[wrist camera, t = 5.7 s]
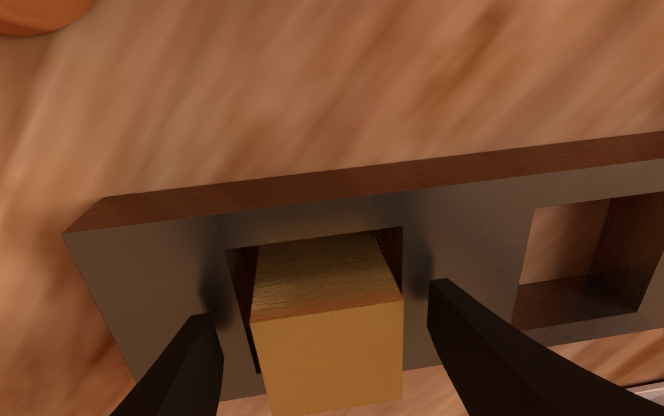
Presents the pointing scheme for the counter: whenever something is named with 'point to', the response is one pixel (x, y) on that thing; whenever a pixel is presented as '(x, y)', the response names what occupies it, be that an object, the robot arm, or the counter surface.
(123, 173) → the counter surface
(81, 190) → the counter surface
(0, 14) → the beer glass
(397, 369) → the golden brown block
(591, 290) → the grey slotted board
